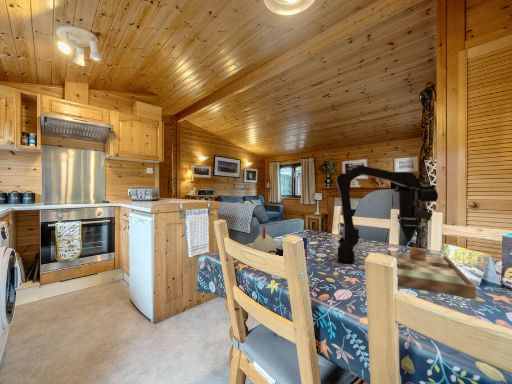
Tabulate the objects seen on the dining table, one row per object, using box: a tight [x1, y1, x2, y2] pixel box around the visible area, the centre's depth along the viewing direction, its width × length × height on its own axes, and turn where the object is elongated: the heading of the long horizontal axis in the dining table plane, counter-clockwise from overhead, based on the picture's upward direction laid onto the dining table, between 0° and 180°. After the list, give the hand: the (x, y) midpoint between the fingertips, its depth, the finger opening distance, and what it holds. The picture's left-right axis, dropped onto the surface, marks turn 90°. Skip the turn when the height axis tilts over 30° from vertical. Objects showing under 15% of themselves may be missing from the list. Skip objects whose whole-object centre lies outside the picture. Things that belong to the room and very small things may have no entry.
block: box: [409, 247, 427, 261], centre depth 100 cm, size 5×5×4 cm
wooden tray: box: [387, 249, 477, 299], centre depth 90 cm, size 22×35×4 cm, turn 152°
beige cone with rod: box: [249, 226, 278, 255], centre depth 108 cm, size 14×14×15 cm
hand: (407, 239), depth 98 cm, fingers open, 9 cm apart
